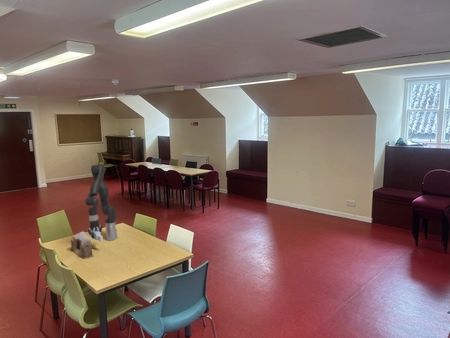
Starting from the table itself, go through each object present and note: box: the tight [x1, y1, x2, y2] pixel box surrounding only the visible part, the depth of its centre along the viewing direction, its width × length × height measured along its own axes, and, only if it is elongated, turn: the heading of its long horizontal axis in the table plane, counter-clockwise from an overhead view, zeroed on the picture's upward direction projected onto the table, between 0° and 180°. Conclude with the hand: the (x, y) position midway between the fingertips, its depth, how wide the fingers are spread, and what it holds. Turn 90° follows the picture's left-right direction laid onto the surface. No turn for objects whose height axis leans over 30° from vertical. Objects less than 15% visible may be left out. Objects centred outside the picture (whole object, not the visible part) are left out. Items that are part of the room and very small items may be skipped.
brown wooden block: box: [70, 238, 94, 260], centre depth 280 cm, size 8×29×9 cm, turn 46°
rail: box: [88, 230, 104, 242], centre depth 287 cm, size 4×22×6 cm, turn 48°
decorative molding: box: [72, 231, 93, 247], centre depth 310 cm, size 34×5×10 cm
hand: (95, 237), depth 287 cm, fingers closed on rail, 4 cm apart
